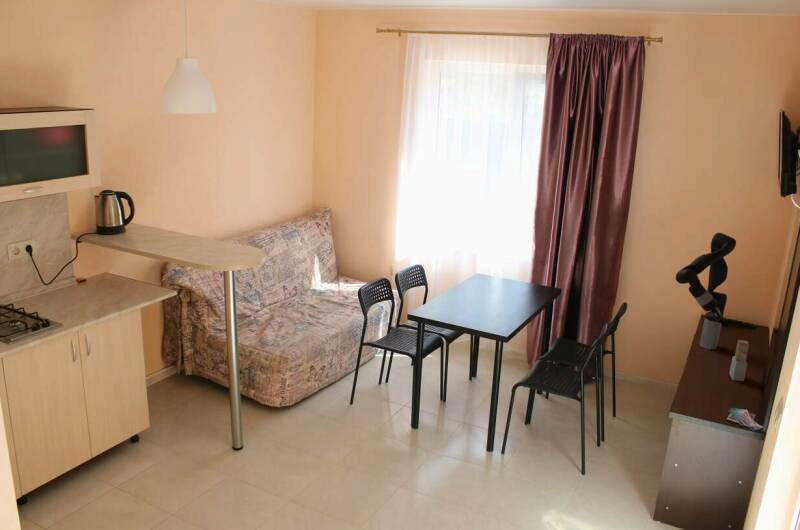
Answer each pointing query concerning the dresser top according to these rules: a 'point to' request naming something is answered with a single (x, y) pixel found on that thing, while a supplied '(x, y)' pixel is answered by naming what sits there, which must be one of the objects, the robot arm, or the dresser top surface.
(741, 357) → the maple block
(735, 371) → the small box
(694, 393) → the dresser top surface
